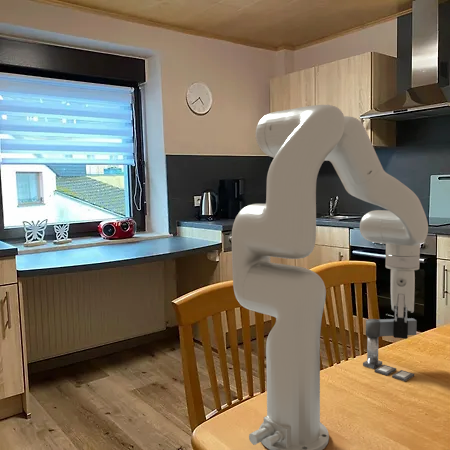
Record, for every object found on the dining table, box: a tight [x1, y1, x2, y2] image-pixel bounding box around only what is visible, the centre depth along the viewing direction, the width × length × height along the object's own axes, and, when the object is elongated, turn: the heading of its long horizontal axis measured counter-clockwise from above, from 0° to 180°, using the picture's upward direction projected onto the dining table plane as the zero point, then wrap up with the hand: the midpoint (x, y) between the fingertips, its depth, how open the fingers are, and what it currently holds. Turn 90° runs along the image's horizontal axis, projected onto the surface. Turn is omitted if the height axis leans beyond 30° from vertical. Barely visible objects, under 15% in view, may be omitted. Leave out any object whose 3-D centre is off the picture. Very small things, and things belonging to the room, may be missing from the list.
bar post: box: [362, 336, 383, 370], centre depth 116 cm, size 4×3×7 cm
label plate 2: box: [391, 369, 415, 382], centre depth 110 cm, size 4×3×1 cm
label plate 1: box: [374, 364, 397, 377], centre depth 113 cm, size 4×3×1 cm
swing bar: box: [365, 317, 418, 338], centre depth 116 cm, size 3×12×4 cm, turn 93°
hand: (400, 337), depth 113 cm, fingers closed
